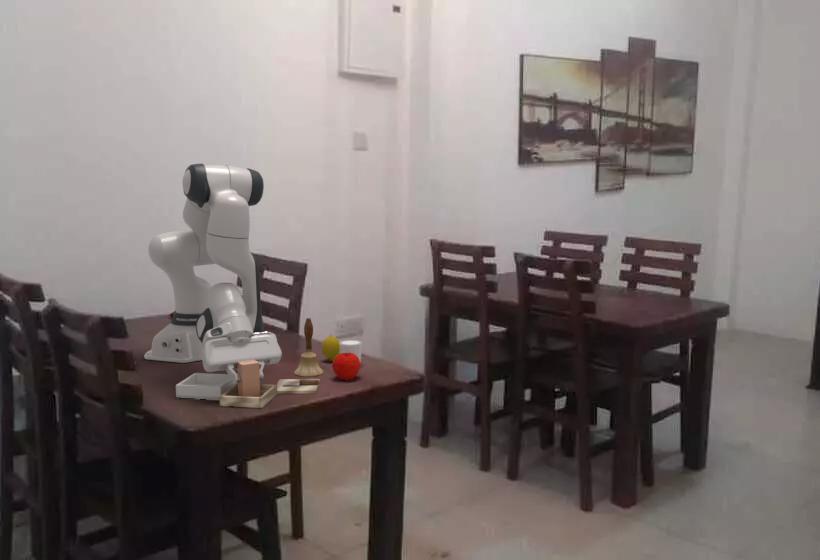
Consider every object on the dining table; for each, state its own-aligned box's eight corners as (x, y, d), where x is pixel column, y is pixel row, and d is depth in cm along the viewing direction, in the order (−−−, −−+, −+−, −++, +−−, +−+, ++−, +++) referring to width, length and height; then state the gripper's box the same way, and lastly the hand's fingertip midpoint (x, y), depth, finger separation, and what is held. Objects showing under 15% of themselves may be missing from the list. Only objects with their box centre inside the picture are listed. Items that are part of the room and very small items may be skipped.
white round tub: (339, 362, 250) (338, 339, 249) (362, 362, 251) (361, 339, 250) (339, 368, 244) (338, 345, 242) (362, 368, 244) (362, 344, 243)
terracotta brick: (238, 399, 214) (236, 361, 213) (254, 396, 216) (253, 358, 215) (243, 403, 210) (242, 364, 209) (260, 400, 212) (259, 362, 211)
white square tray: (176, 398, 215) (175, 385, 214) (195, 385, 226) (194, 372, 226) (220, 400, 213) (220, 387, 212) (237, 387, 225) (237, 374, 224)
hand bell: (327, 370, 242) (326, 316, 240) (318, 377, 234) (316, 321, 232) (300, 368, 244) (298, 314, 241) (290, 376, 236) (288, 320, 233)
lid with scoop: (273, 393, 219) (273, 385, 218) (279, 382, 229) (279, 374, 229) (316, 393, 219) (316, 385, 218) (320, 381, 230) (320, 374, 229)
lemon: (337, 363, 249) (337, 337, 248) (319, 362, 250) (319, 336, 249) (342, 359, 254) (342, 333, 253) (325, 358, 255) (324, 332, 254)
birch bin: (219, 406, 208) (219, 396, 208) (237, 392, 220) (236, 383, 220) (262, 408, 207) (261, 398, 206) (277, 394, 218) (277, 384, 218)
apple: (349, 373, 239) (349, 347, 238) (366, 378, 233) (366, 352, 232) (326, 378, 234) (326, 352, 232) (343, 384, 228) (343, 357, 227)
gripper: (271, 337, 226) (285, 380, 219) (196, 345, 216) (208, 391, 209) (276, 324, 222) (290, 368, 215) (199, 332, 212) (212, 378, 205)
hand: (249, 380), depth 212 cm, fingers closed on terracotta brick, 4 cm apart
